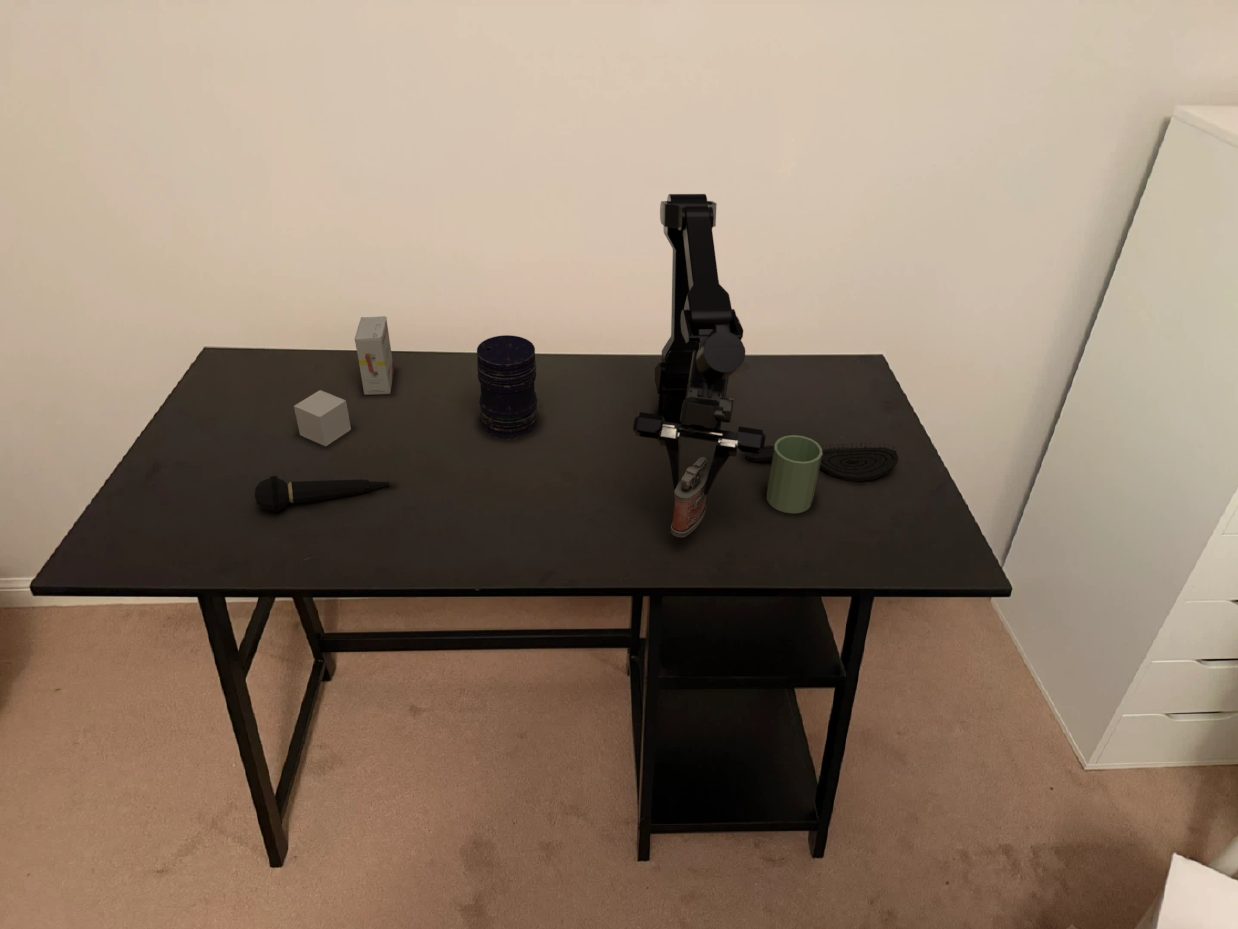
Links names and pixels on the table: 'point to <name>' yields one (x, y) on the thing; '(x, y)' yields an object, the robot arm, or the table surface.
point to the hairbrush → (847, 461)
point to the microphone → (308, 491)
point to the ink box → (374, 355)
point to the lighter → (690, 499)
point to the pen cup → (793, 473)
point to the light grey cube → (322, 417)
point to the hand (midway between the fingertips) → (690, 492)
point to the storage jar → (507, 386)
